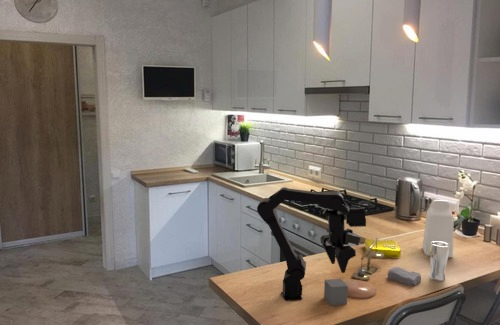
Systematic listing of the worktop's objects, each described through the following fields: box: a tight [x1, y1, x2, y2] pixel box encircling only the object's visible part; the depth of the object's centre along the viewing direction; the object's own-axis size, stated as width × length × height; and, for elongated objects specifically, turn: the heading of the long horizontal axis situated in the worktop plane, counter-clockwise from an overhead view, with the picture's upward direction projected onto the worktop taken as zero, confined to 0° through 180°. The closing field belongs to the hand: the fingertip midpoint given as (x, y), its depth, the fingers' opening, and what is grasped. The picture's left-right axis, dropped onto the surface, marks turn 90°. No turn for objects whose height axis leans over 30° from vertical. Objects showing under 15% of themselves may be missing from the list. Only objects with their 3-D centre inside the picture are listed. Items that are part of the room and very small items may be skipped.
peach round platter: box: [343, 279, 377, 299], centre depth 170 cm, size 14×14×1 cm
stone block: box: [387, 266, 422, 287], centre depth 181 cm, size 12×5×10 cm
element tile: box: [364, 238, 402, 258], centre depth 212 cm, size 15×15×5 cm
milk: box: [422, 199, 454, 258], centre depth 211 cm, size 12×12×26 cm
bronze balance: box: [352, 238, 385, 281], centre depth 188 cm, size 25×7×12 cm, turn 145°
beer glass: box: [428, 241, 449, 282], centre depth 181 cm, size 7×7×15 cm
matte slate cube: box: [323, 278, 348, 306], centre depth 160 cm, size 6×6×7 cm
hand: (338, 268), depth 159 cm, fingers open, 9 cm apart
